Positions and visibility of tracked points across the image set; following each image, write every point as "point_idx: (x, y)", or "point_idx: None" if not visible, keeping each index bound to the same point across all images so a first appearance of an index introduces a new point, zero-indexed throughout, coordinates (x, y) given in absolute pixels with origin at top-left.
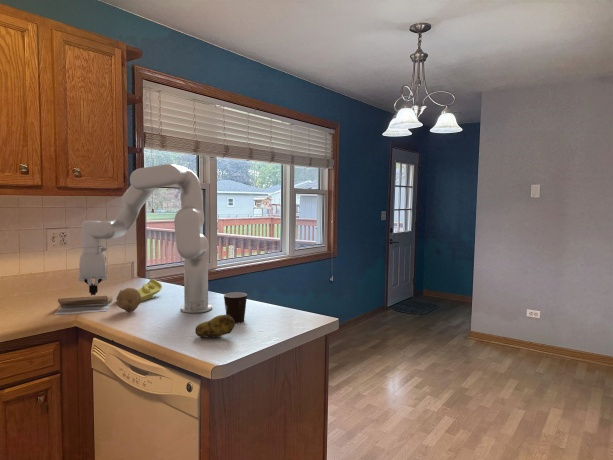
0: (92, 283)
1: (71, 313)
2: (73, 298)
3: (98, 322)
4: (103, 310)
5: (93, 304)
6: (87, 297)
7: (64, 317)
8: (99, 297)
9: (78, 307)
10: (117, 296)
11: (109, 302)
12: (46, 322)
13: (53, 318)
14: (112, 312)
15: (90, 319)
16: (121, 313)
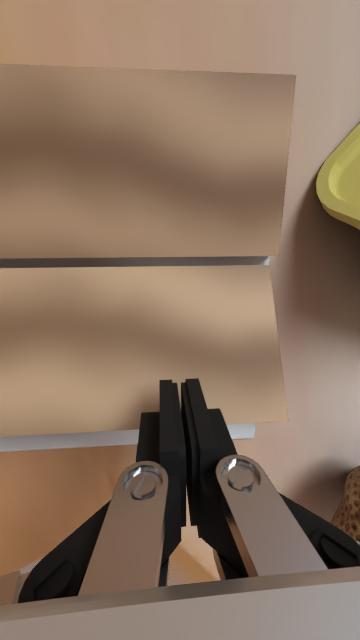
0: (178, 512)
1: (71, 447)
2: (21, 434)
3: None
4: (234, 430)
5: (155, 261)
6: (133, 428)
7: (59, 501)
8: (226, 422)
9: None
10: (346, 217)
11: (264, 256)
12: (5, 558)
13: (9, 508)
14: (277, 463)
15: (188, 547)
16: (317, 487)
